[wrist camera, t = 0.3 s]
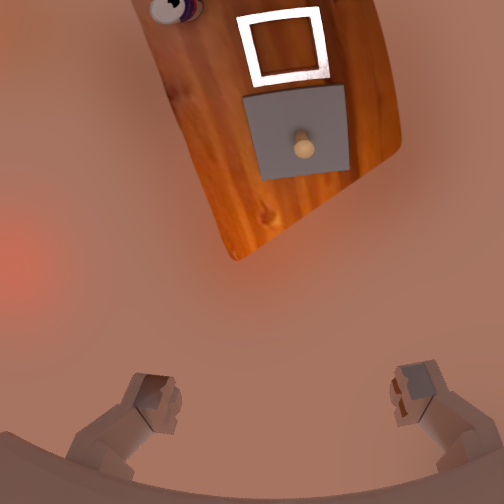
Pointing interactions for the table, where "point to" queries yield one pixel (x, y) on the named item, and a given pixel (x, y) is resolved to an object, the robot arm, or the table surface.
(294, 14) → the ring link
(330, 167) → the keeper board
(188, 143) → the table surface
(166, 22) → the energy drink
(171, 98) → the table surface
